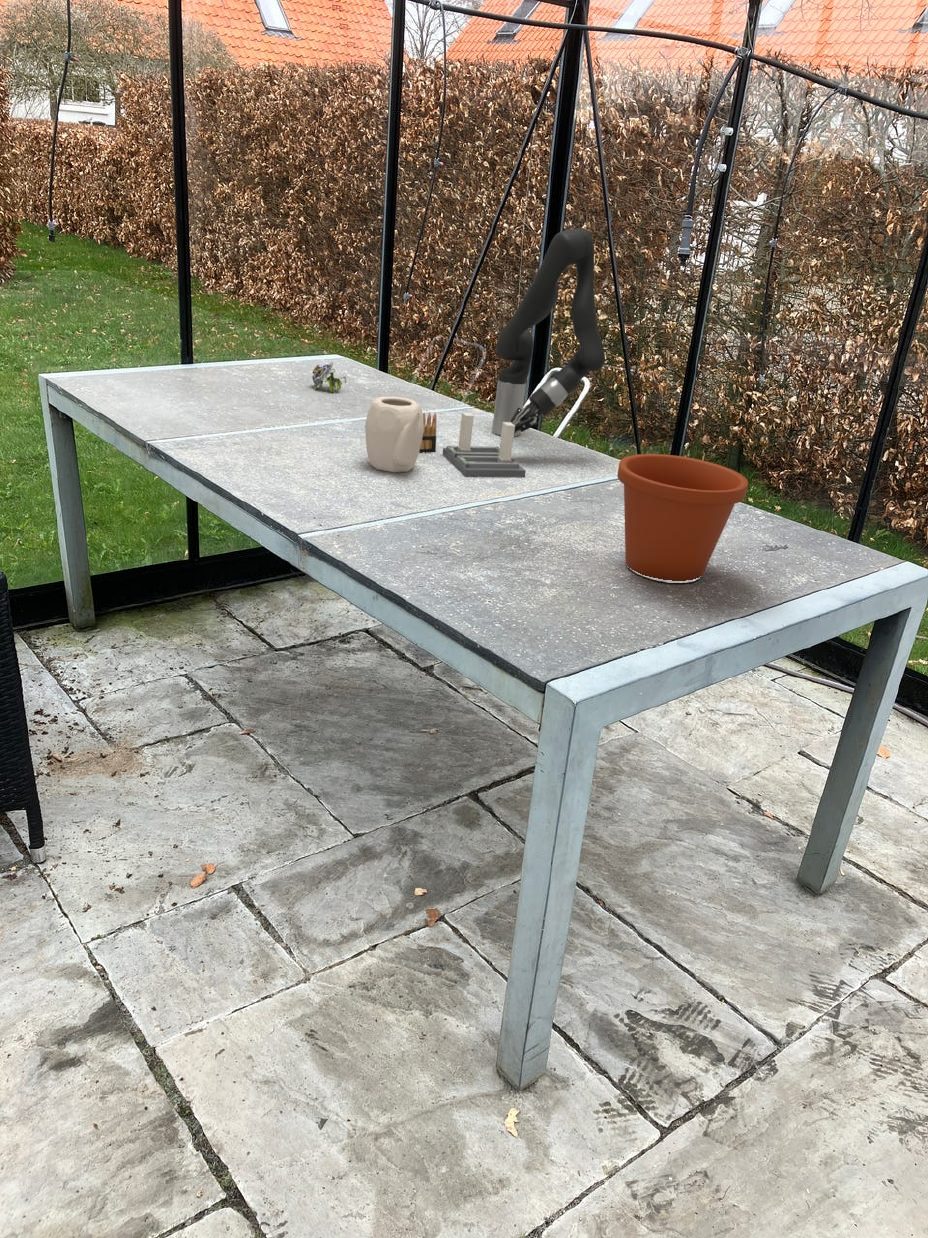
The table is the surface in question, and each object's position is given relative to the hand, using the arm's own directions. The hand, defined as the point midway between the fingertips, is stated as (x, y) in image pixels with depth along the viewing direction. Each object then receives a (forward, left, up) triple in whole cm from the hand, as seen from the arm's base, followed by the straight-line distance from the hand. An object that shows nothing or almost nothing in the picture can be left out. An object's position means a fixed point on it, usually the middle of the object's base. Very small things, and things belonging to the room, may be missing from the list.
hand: (504, 436), depth 288 cm
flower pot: (+85, +8, -8) cm, 86 cm away
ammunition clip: (-8, -24, -8) cm, 26 cm away
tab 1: (0, -12, -5) cm, 13 cm away
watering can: (+9, -36, -8) cm, 38 cm away
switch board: (+5, -8, -7) cm, 12 cm away
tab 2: (+10, -3, -5) cm, 12 cm away
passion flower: (-88, -36, -8) cm, 95 cm away
